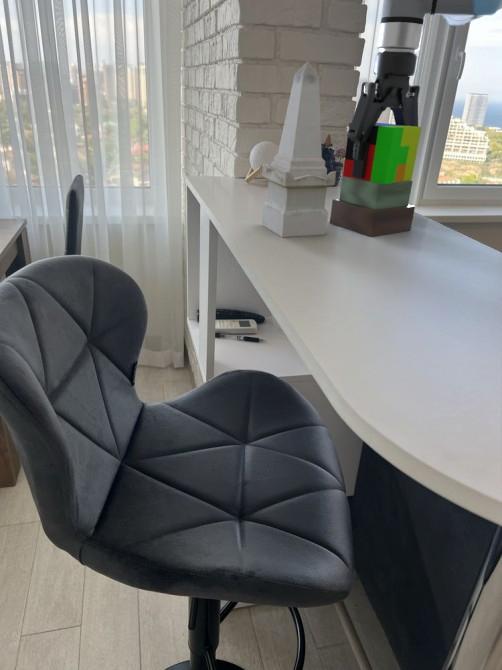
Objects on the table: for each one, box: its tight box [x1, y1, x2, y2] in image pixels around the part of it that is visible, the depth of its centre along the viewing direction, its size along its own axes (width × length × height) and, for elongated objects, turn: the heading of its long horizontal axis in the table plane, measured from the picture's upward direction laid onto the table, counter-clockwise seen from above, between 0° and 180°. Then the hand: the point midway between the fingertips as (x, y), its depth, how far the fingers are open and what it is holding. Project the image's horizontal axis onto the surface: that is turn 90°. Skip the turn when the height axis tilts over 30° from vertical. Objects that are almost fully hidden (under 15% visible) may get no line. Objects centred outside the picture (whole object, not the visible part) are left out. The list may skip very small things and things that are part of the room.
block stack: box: [329, 175, 416, 238], centre depth 105 cm, size 12×12×10 cm
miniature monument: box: [261, 60, 337, 238], centre depth 95 cm, size 10×10×30 cm
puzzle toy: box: [342, 122, 422, 184], centre depth 101 cm, size 10×10×10 cm
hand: (377, 176), depth 103 cm, fingers closed on puzzle toy, 11 cm apart
